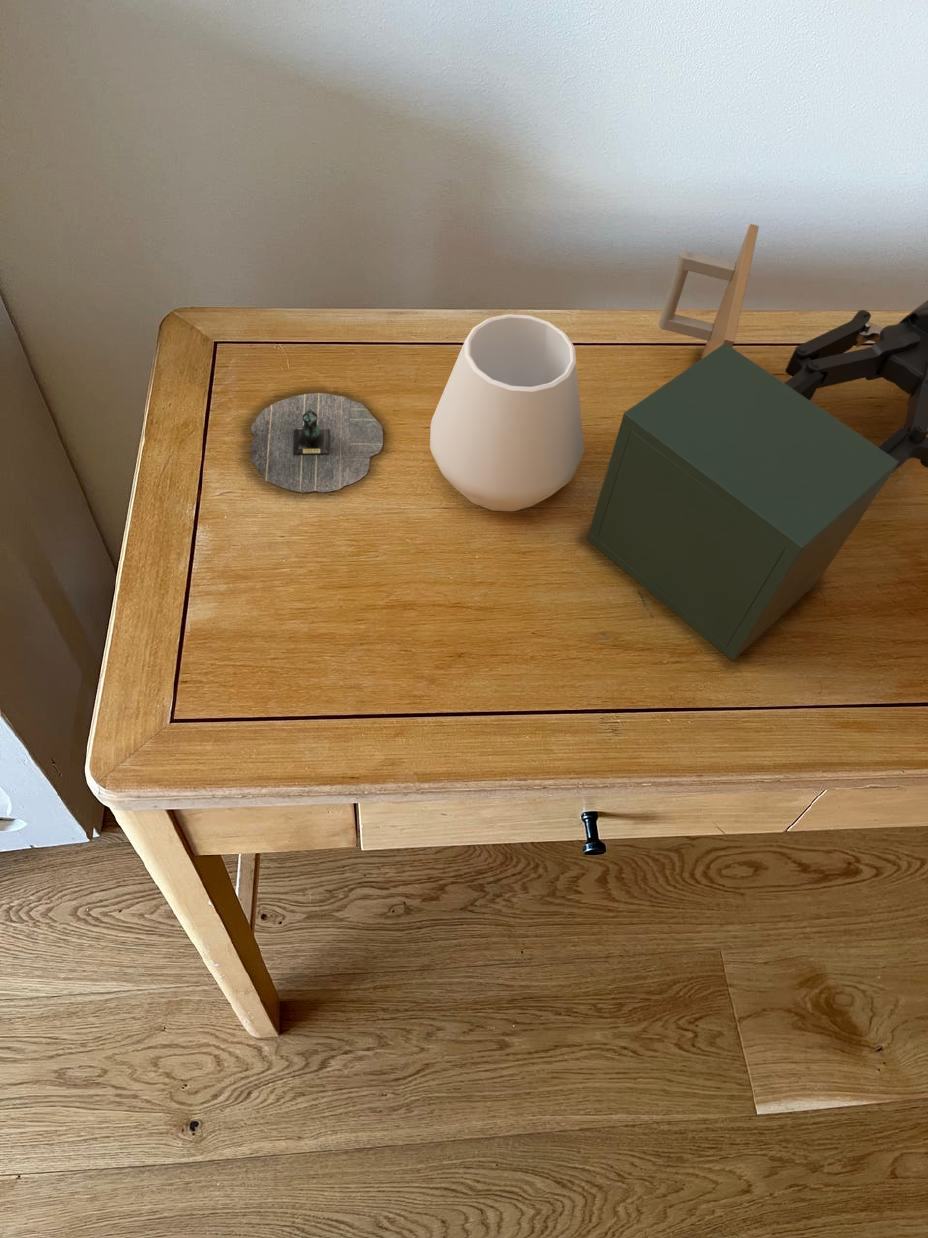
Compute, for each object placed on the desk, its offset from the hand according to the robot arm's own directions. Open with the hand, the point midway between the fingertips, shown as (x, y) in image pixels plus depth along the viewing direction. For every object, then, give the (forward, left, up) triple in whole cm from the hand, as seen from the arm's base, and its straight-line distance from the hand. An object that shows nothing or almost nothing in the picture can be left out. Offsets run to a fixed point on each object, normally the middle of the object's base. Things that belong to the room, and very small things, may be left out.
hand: (811, 448), depth 76 cm
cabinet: (+3, +9, -8) cm, 13 cm away
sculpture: (+37, +20, -9) cm, 43 cm away
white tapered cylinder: (+22, +12, -9) cm, 26 cm away
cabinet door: (+15, -6, -8) cm, 18 cm away
